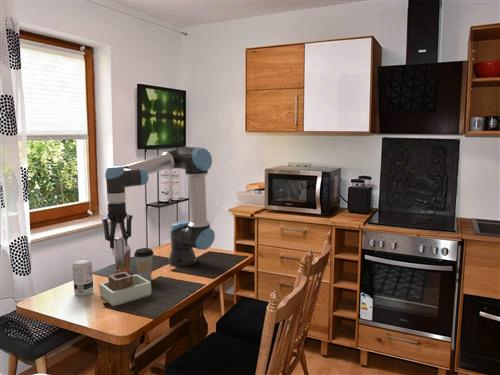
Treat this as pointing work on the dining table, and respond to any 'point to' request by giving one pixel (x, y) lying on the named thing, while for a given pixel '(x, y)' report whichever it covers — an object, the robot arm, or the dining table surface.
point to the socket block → (120, 281)
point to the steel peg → (119, 251)
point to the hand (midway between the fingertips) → (119, 254)
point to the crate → (126, 291)
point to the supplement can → (82, 277)
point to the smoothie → (125, 262)
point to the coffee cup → (144, 262)
